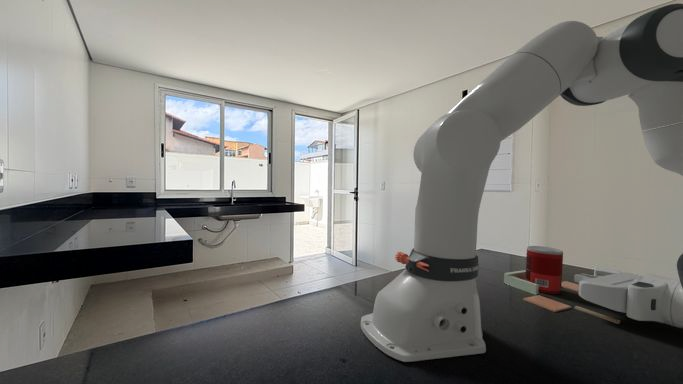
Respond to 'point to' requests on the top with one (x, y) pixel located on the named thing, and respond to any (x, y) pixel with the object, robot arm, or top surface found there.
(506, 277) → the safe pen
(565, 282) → the tiles
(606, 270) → the small box
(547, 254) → the canned food
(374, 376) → the top surface
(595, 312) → the lane kerbs
